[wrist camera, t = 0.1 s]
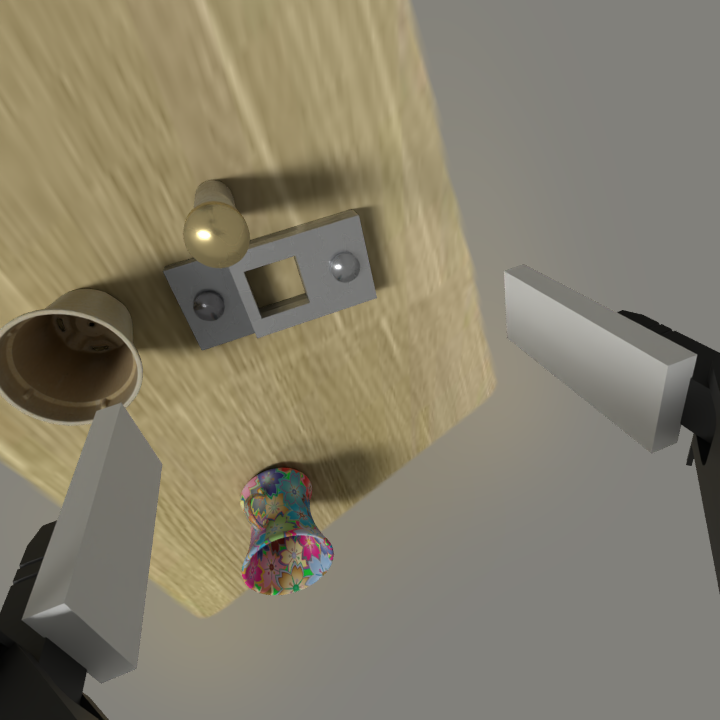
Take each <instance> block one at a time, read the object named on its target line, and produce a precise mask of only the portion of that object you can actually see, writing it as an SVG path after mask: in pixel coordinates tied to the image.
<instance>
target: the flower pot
mask: <svg viewBox="0 0 720 720" xmlns="http://www.w3.org/2000/svg"><path fill="white" fill-rule="evenodd" d="M58 318H60V319H62V320H63V326H64V328H65V331H64V332H62V330H61V329H60V328H59V325H58V323H57V319H58ZM91 322H92V323H94V326H93V327H91V326H90V325H89V323H91ZM102 346H107V347H108V348H107V349H105V350H98V351H97V350H93V349H92V347H102ZM142 378H143V367H142V362H141V358H140V356H139V354H138V351H137V349H136V348H135V346H134V345H133V323H132V318H131V316H130V313H129V312H128V310H127V308H126V307H125V306H124V305H123V304H122V303H121V302H120V301H118V300H117V299H115V298H114V297H112V296H111V295H109V294H107V293H105V292H103V291H99V290H94V289H78V290H74V291H70V292H68V293H66V294H64V295H62V296H61V297H59V298H58V299H57V300H56V301H55V302H53V303H52V304H50V305H49V306H48V307H46V308H45V309H42V310H36V311H32V312H29V313H26V314H23V315H21V316H19V317H17V318H15V319H13V320H11V321H10V322H8V323H7V324H6V325H5V326H3V327H2V328H1V329H0V395H1V396H2V397H3V398H4V399H5V400H6V401H7V402H8V403H9V404H10V405H12V406H13V407H15V408H16V409H18V410H19V411H21V412H22V413H24V414H26V415H28V416H30V417H33V418H35V419H38V420H41V421H45V422H48V423H52V424H58V425H68V426H69V425H71V426H73V425H85V424H91V423H92V422H93V419H94V416H95V413H96V411H98V410H101V409H104V408H107V407H110V406H113V405H116V404H119V403H122V404H123V406H124V407H125V408H126V407H127V406H129V405H130V404H131V402H132V401H133V400H134V399H135V397H136V396H137V394H138V392H139V390H140V387H141V383H142Z"/></svg>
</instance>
